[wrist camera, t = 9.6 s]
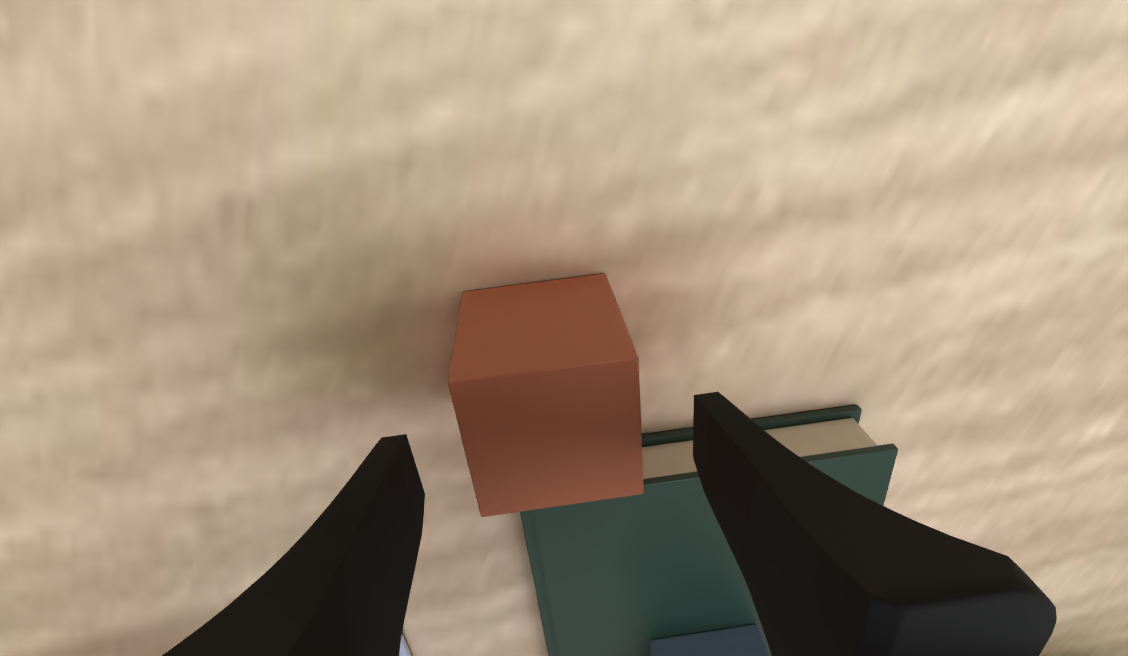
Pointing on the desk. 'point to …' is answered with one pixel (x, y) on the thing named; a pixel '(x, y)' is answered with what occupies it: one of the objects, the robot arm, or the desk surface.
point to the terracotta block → (547, 395)
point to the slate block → (713, 643)
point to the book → (672, 542)
